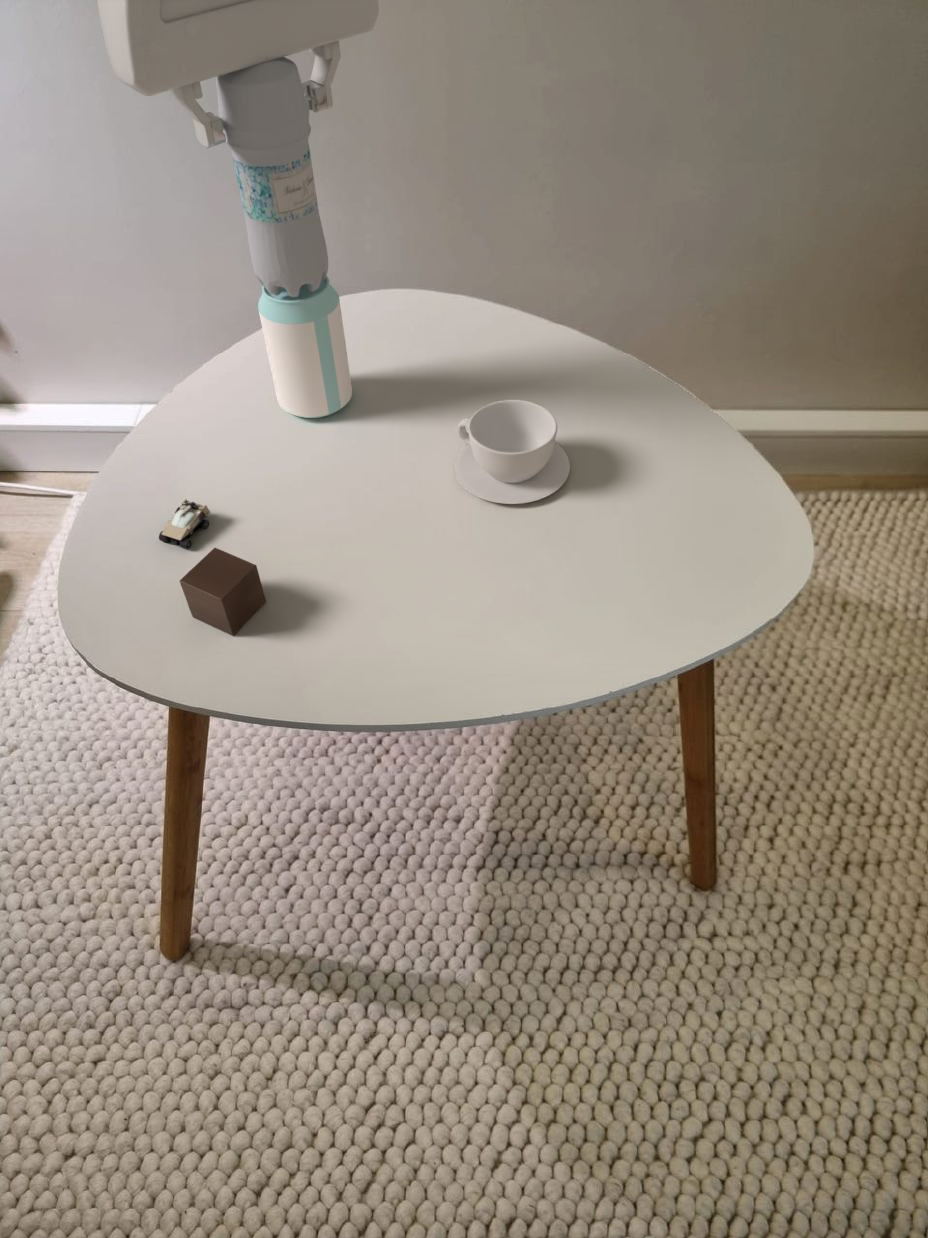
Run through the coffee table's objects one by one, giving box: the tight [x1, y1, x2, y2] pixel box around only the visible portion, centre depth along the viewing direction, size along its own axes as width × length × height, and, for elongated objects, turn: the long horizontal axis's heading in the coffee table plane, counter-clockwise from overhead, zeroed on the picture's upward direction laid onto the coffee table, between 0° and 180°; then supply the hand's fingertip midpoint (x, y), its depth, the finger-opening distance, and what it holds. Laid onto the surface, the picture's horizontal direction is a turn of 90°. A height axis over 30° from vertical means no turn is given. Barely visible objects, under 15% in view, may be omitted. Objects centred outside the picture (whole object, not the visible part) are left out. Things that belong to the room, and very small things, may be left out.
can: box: [257, 275, 353, 419], centre depth 86 cm, size 7×7×12 cm
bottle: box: [215, 56, 329, 297], centre depth 74 cm, size 7×7×20 cm
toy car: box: [158, 498, 211, 550], centre depth 78 cm, size 3×4×2 cm, turn 156°
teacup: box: [453, 399, 571, 505], centre depth 81 cm, size 10×10×5 cm
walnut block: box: [179, 547, 267, 637], centre depth 71 cm, size 4×4×4 cm
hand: (267, 125), depth 72 cm, fingers open, 8 cm apart
